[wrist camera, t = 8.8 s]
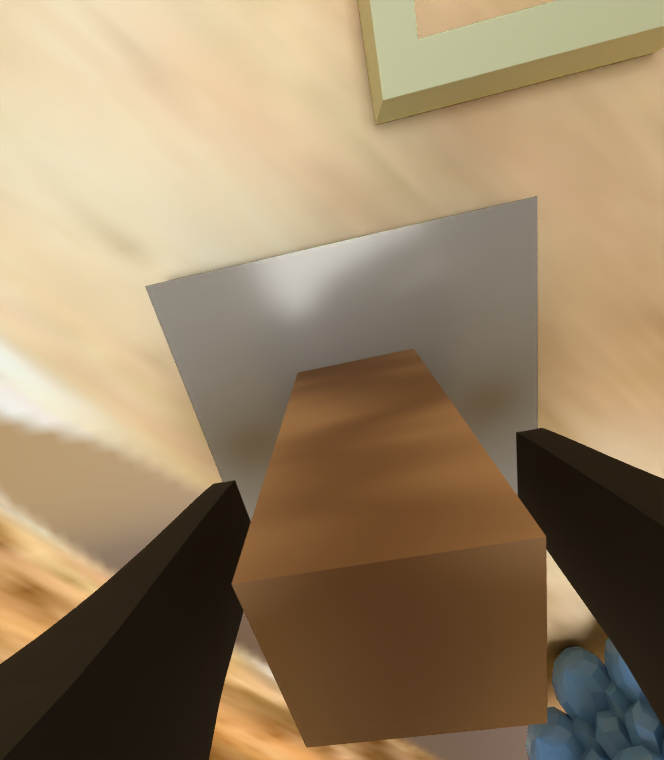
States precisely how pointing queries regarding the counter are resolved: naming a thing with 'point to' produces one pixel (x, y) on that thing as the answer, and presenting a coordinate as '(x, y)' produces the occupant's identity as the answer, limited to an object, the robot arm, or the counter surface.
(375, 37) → the pocket holder
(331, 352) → the grey metal plate
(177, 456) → the counter surface
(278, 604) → the walnut block
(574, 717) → the grapes
